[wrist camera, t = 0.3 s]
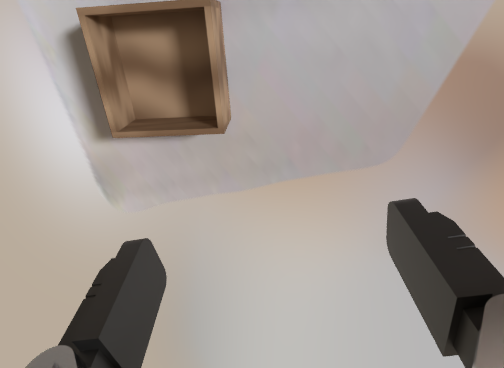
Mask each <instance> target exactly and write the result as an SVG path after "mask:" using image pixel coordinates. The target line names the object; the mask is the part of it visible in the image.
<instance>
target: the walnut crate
mask: <svg viewBox="0 0 504 368" xmlns="http://www.w3.org/2000/svg"><path fill="white" fill-rule="evenodd" d="M76 10H77V14H78V17H79V21H80V24H81V28H82V31H83V35H84V38H85V42H86V45H87V49H88V52H89V56H90V59H91V63H92V66H93V70H94V73H95V77H96V80H97V84H98V87H99V91H100V94H101V98H102V101H103V105H104V108H105V112H106V115H107V119H108V123H109V126H110V130H111V133H112V137H113V138H125V137H150V136H176V135H201V134H224V133H225V131H226V129H227V126H228V124H229V122H230V120H231V112H230V101H229V90H228V79H227V69H226V58H225V47H224V36H223V26H222V15H221V4H220V2H219V1H216V0H176V1H163V2H149V3H136V4H123V5H110V6H96V7H83V8H76Z"/></svg>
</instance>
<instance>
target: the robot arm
mask: <svg viewBox="0 0 504 368" xmlns="http://www.w3.org/2000/svg"><path fill="white" fill-rule="evenodd" d="M386 238H387V246H388V250H389V253H390V256H391V258H392V260H393V262H394V264H395V266H396V267H397V269H398V271H399V273H400V275H401V277H402V279H403V281H404V283H405V285H406V287H407V289H408V290H409V292H410V294H411V296H412V298H413V300H414V302H415V304H416V306H417V308H418V310H419V311H420V313H421V315H422V317H423V319H424V321H425V323H426V325H427V327H428V329H429V330H430V333H431V334H432V336H433V338H434V340H435V342H436V344H437V346H438V348H439V350H440V352H441V353H442V355H443V356H453V355H459V357H460V359H461V361H462V362H463V364H464V366H465V368H504V277H503V276H502V275H501V274H500V273H499V272H498V270H497V269H496V268H495V267H494V266H493V265H492V264H491V263H490V261H488V259H487V258H486V257H485V256H484V255H483V254H482V253H481V251H480V250H479V249H478V248H476V247H475V245H474V243H473V242H472V241H471V240H470V239H469V238H468V237H466V235H465V233H464V232H463V231H462V230H461V229H460V228H459V226H458V225H457V224H456V223H455V222H454V221H453V220H451V219H449V218H447V217H446V216H444V215H442V214H441V213H439V212H431V213H428V212H427V211H426V209H425V208H424V207H423V206H422V205H421V203H420V202H419V201H418V200H417V199H415V198H412V199H406V200H399V201H392V202H390V203H389V204H388V215H387V236H386ZM165 287H166V272H165V269H164V266H163V264H162V262H161V260H160V258H159V256H158V254H157V253H156V250H155V248H154V246H153V245H152V242H151V241H150V240H149V239H148V238H145V239H139V240H133V241H126V242H124V243H123V245H122V246H121V248H120V250H119V252H118V254H117V256H116V258H113V259H111V260H110V261H109V262H108V263H107V264H106V265H105V266H104V267H103V268H102V269H101V270H100V271H99V273H98V275H97V276H96V278H95V280H94V282H93V284H92V287H91V288H90V289H89V291H88V293H87V295H86V299H84V300H83V301H82V303H81V305H80V307H79V309H78V311H77V312H76V314H75V316H74V318H73V319H72V321H71V323H70V325H69V326H68V328H67V330H66V332H65V334H64V336H63V337H62V339H61V341H60V343H59V344H58V346H55V347H52V348H50V349H48V350H46V351H44V352H42V353H41V354H40V355H38V356H37V357H36V358H34V359H33V360H32V361H31V362H30V363H29V364H28V365H27V366H26V367H25V368H141V366H142V363H143V360H144V356H145V353H146V350H147V346H148V343H149V340H150V336H151V333H152V330H153V327H154V323H155V320H156V317H157V313H158V310H159V306H160V303H161V300H162V297H163V293H164V290H165Z"/></svg>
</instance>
